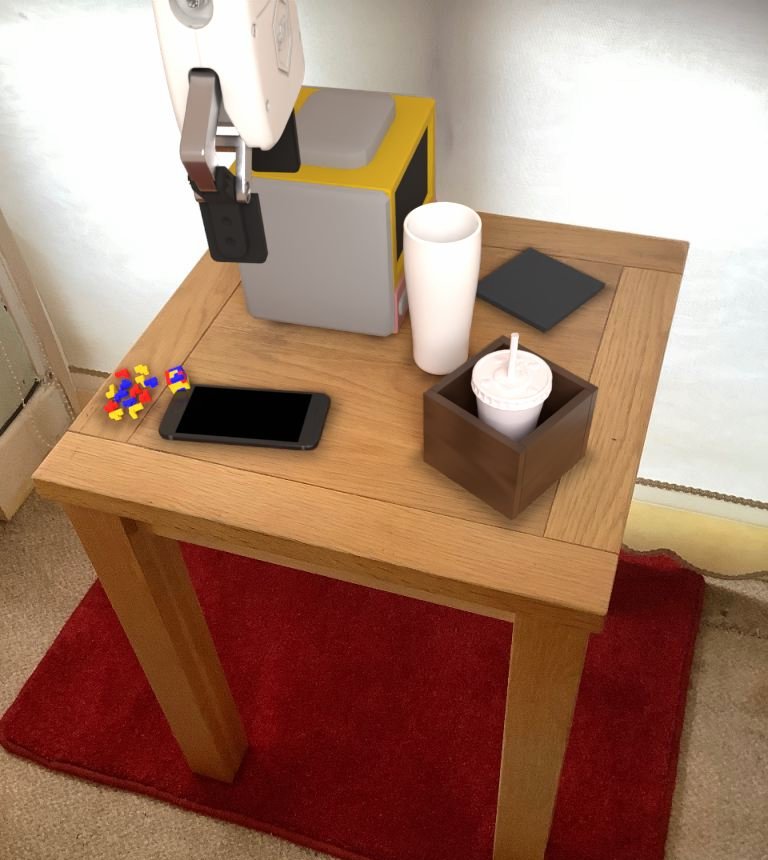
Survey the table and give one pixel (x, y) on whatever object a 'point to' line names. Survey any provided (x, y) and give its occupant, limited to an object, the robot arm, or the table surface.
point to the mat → (538, 289)
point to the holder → (495, 452)
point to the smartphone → (246, 417)
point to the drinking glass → (441, 282)
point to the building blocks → (174, 380)
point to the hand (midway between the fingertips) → (259, 212)
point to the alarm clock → (343, 211)
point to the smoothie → (511, 390)
